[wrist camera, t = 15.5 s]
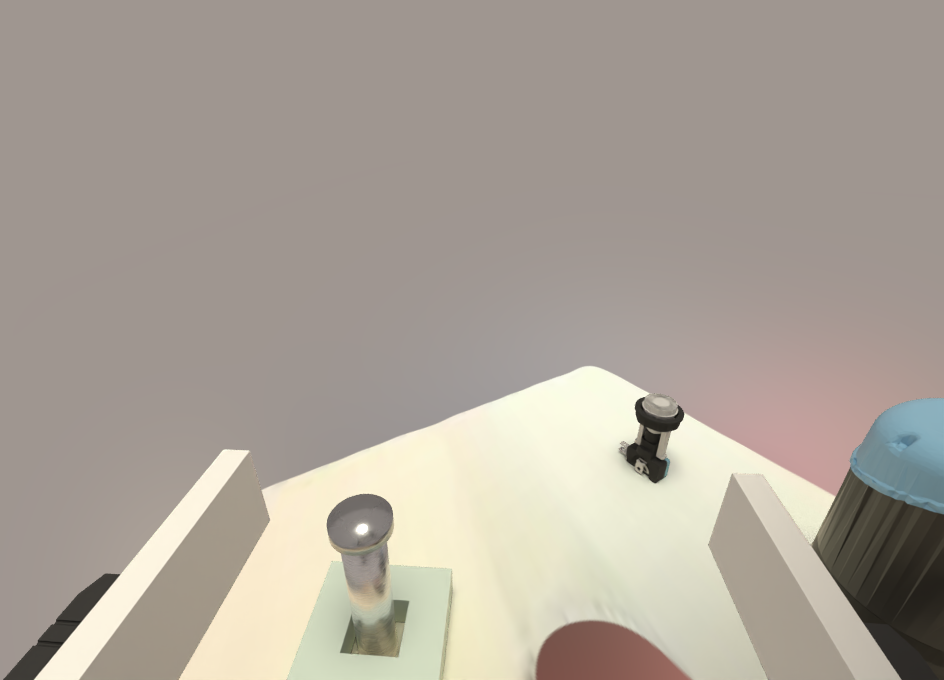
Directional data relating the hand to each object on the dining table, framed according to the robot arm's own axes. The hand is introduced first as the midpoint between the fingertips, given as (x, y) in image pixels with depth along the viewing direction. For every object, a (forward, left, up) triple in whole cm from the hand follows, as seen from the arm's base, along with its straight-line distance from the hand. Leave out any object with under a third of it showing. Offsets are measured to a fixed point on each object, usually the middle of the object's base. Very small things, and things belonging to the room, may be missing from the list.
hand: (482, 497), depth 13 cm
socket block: (+9, -13, -30) cm, 34 cm away
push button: (-19, -37, -31) cm, 51 cm away
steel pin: (+9, -13, -30) cm, 34 cm away
